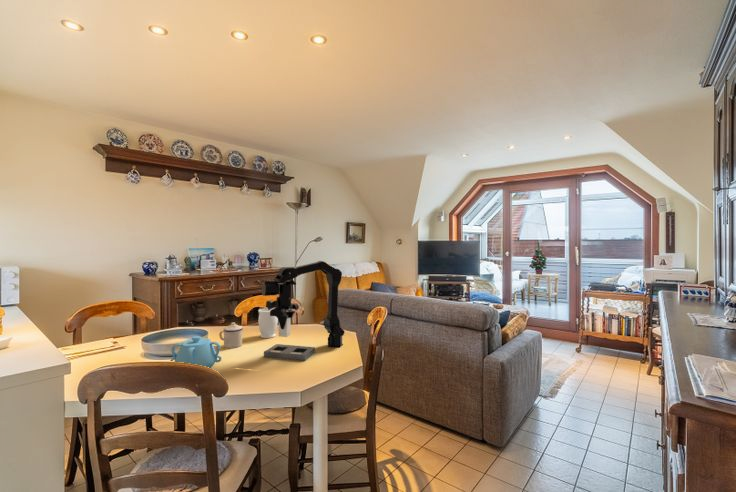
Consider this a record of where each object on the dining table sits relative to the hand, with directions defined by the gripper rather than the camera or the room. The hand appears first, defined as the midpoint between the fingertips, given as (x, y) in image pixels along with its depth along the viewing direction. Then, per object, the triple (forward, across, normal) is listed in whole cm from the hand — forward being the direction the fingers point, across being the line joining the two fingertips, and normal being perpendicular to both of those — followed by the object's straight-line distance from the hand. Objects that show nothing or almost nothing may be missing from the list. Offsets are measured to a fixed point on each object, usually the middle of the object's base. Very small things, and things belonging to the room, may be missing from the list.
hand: (284, 328), depth 159 cm
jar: (+13, -28, -23) cm, 38 cm away
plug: (+4, 0, 0) cm, 4 cm away
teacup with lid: (+13, -8, -33) cm, 37 cm away
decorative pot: (+14, +24, -28) cm, 39 cm away
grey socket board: (+13, 0, +3) cm, 13 cm away
